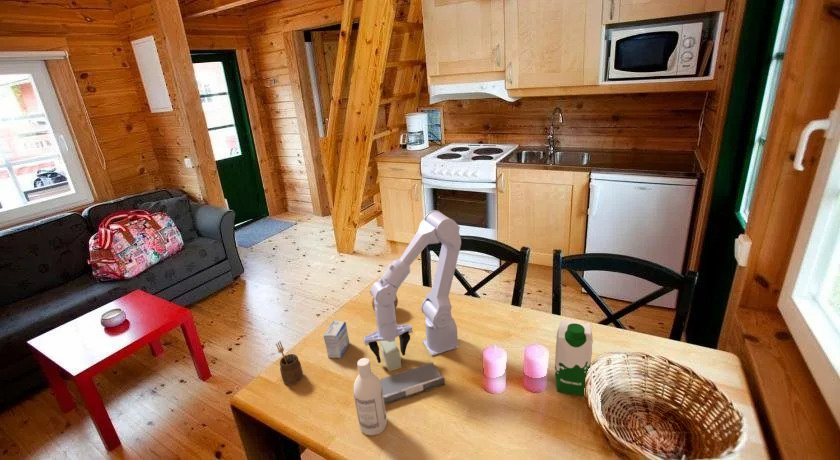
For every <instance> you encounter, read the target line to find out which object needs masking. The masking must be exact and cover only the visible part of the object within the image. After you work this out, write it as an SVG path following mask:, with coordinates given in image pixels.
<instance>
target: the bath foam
mask: <svg viewBox="0 0 840 460" xmlns="http://www.w3.org/2000/svg"><path fill="white" fill-rule="evenodd" d="M356 365H357V370H358V375H357V376H356V379H355V381H354V383H353V391H352V392H353V397H354V403H355V409H356V415H357V419H358V425H359V429H360V431H361V432H362V433H363V434H365V435H367V436H376V435H378V434H381V432H384V430H385V429H386V427H387V423H388V419H387V411H386V405H385V404H384V397H383V390H382V385H381V382H380V380H379V379H380V378H379V377H378V375H376V374H375V373H374V372H373V371H372V367H371V361H370V359H369V358H367V357H362V358H360V359H358V361H357V363H356Z"/></svg>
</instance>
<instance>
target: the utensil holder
mask: <svg viewBox="0 0 840 460" xmlns="http://www.w3.org/2000/svg"><path fill="white" fill-rule="evenodd" d="M275 346H276V348H277V350H278V353H279V354H281V355H282V357H281V358H280V360H279V365H280V368H279V370H280V375H281V379H282V381H283V383H284V384H285V385H287V386H293V385H296V384H298V383H299V382H300V381H301V380H302V379H303V376H304V373H303V366H302V363H301V362H300V360H299V357H298V355H296V353H290V352H293V350H292V349H291V350H288V351H287V353H286V355H285V354H284V352H285V351H284V347H283V343H282V342H281V341H278V342H277V343H275ZM289 353H290V354H289Z"/></svg>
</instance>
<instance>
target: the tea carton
mask: <svg viewBox="0 0 840 460" xmlns="http://www.w3.org/2000/svg"><path fill="white" fill-rule="evenodd" d="M379 344H380V348H381V349H380V351H381V357H382V360H383V362H384V364H385V366H386V367H385V368H386V369H387V370H388V372H392V371H395V370H397V369H401V368H402V362H401V361H402V360H401V350H400V349H399V347H398V346H397V344H396V342H395V340H394V341H392V342H388V341H379Z"/></svg>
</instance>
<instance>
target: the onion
mask: <svg viewBox="0 0 840 460" xmlns="http://www.w3.org/2000/svg"><path fill="white" fill-rule="evenodd" d="M398 304H399V300H398V296H396V300H395V301H394V306H395V310H396V309H397V308H398V307H397V306H398ZM371 306H372V309H373V310H374V312H375V304H374V297H373V296H372V300H371Z"/></svg>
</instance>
